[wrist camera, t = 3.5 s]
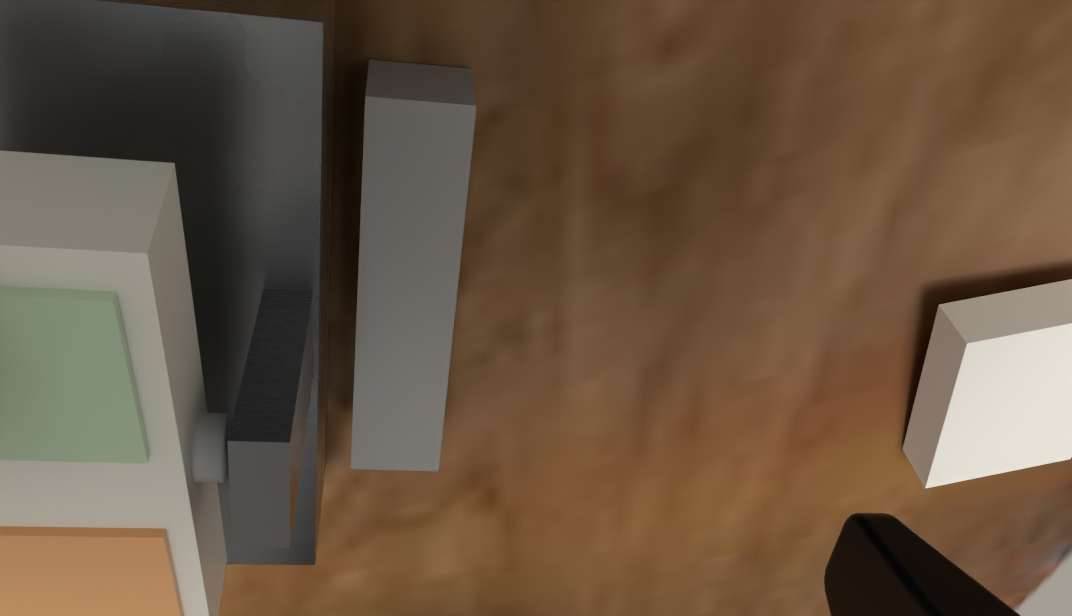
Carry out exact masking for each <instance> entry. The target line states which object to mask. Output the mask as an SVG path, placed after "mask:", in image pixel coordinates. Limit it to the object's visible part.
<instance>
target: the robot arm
mask: <svg viewBox="0 0 1072 616" xmlns="http://www.w3.org/2000/svg"><path fill="white" fill-rule="evenodd" d="M824 584H825V592H826V597H827V601H828V605H829V609H830V613H831V616H1020V615H1019V614H1018V613H1017V612H1015V611H1014V610H1013V609H1012V608H1010V607H1009V606H1008V605H1006V604H1005V603H1004V602H1003V601H1001V600H1000V599H999V598H998V597H996V596H995V595H994V594H992V593H991V592H990V591H989V590H987V589H986V588H985V587H984V586H982V585H981V584H980V583H978V582H977V581H976V580H975V579H973V578H972V577H971V576H970V575H968V574H967V573H966V572H965V571H963V570H962V569H961V568H959V567H958V566H957V565H956V564H954V563H953V562H952V561H951V560H949V559H948V558H947V557H945V556H944V555H943V554H942V553H940V552H939V551H938V550H937V549H935V548H934V547H933V546H931V545H930V544H929V543H928V542H926V541H925V540H924V539H923V538H921V537H920V536H919V535H917V534H916V533H915V532H914V531H912V530H911V529H910V528H909V527H907V526H906V525H905V524H904V523H902V522H901V521H900V520H898V519H897V518H895V517H894V516H892V515H889V514H885V513H855V514H852V515H851V516H850V517H849V518H847V520H846V521H845V523H844V525H843V528H842V530H841V533H840V535H839V537H838V540H837V542H836V545H835V547H834V549H833V552H832V554H831V557H830V559H829V561H828V564H827V567H826V570H825V578H824Z"/></svg>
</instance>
